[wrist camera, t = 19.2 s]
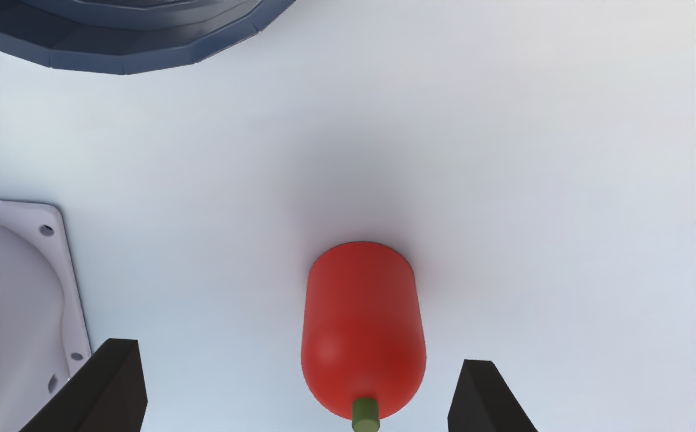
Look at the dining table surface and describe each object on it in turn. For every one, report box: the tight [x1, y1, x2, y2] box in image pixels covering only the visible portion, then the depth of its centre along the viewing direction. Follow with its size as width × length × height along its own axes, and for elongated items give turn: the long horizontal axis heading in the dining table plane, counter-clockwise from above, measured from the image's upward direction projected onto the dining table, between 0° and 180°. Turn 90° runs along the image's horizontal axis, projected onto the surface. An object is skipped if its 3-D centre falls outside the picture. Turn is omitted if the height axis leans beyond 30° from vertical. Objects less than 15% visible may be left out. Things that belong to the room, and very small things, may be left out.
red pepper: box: [301, 242, 427, 432], centre depth 21 cm, size 5×5×7 cm
